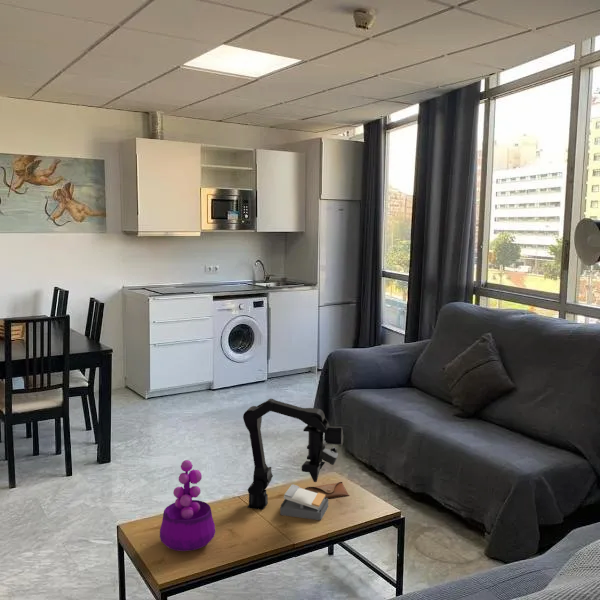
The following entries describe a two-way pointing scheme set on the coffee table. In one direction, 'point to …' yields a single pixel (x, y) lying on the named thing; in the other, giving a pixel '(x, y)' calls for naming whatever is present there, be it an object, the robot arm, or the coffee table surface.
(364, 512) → the coffee table surface
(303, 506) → the box
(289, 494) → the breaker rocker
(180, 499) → the decorative plant
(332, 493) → the sunglasses case
